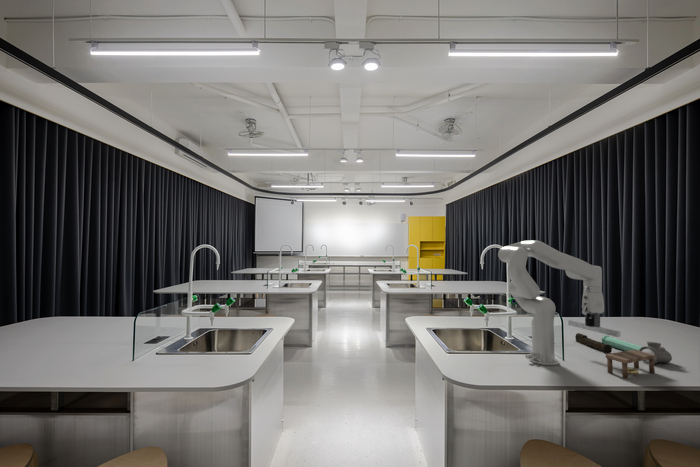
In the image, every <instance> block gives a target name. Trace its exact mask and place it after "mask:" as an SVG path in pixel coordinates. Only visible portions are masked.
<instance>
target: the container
mask: <svg viewBox="0 0 700 467" xmlns="http://www.w3.org/2000/svg"><path fill="white" fill-rule="evenodd" d="M601 342H602V343H604V344H607V345H608V344H609V345H611V346H612V348H614V349H617V350H620V351H622V352H623V351H629V350H638V351H639V350H640V348H641V347H643V346H641V345H637V344H635V343H631V342H628V341H624V340H621V339H618V338H614V337H613V336H612V337H611V336H610V335H607V334H605V335H603V336H602V337H601Z"/></svg>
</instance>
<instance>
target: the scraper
mask: <svg viewBox="0 0 700 467" xmlns="http://www.w3.org/2000/svg"><path fill="white" fill-rule="evenodd" d="M588 314H589V315H590V313H588ZM592 319H593V327H589V326H586V318H585V317H584V322H581V321H577V320H572V319H571V320H570V319H569V320H567V321H568V322H567V323H568V326H571V327H574V328H578V329H579V328H580V329H582V330H586V331H591V332H595V333H600V334H603V335H608V336H610V337H611V336H612V337H616V338H621V330H620V331H619V330H615V329H611V328H606V327H603V326H601V315H600V314H596V313H593V315H592Z"/></svg>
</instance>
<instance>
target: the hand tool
mask: <svg viewBox="0 0 700 467" xmlns="http://www.w3.org/2000/svg"><path fill="white" fill-rule="evenodd" d="M574 339H575V342H577V343H579V344H581V345H585V346H589V347H591V348H594V349H596V350H598V351H600V352H603V353H604V354H611V353H613V351H612V350H613V347H612V346H611V345H609V344H608V345H607V344H604V343H602V341H597V340H595V339H592V338H589V337H588V336H587V335H586V334H583V333H580V332H577V333H576V334H575V338H574Z"/></svg>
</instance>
